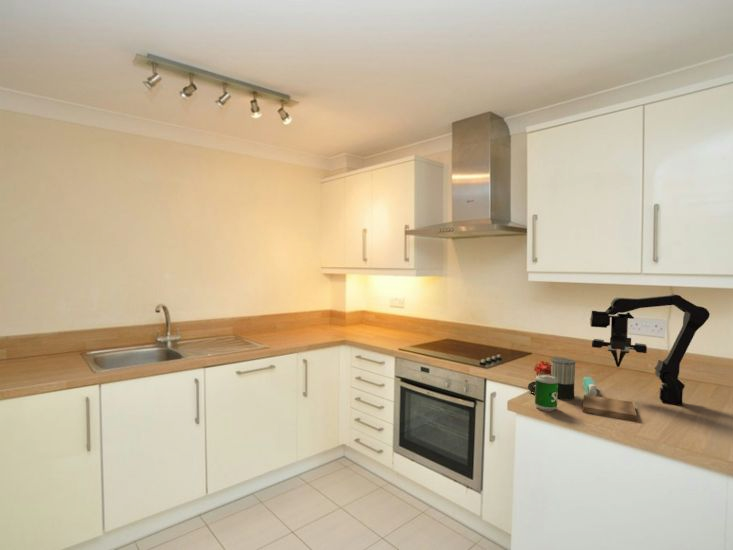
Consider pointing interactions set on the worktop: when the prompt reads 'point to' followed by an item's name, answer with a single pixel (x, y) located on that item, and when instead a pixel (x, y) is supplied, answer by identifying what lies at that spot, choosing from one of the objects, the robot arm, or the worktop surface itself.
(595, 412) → the flat wooden board
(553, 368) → the milk frother
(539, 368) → the dragon fruit
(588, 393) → the folding leg
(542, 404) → the soda can
